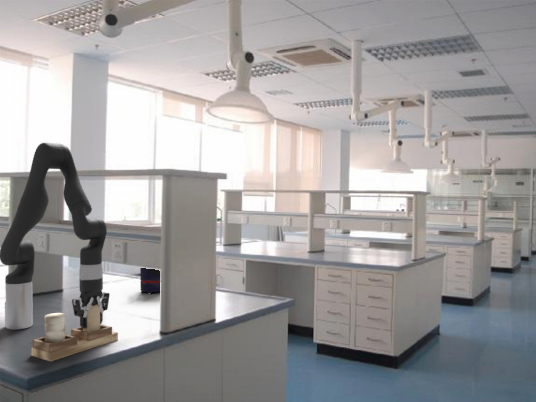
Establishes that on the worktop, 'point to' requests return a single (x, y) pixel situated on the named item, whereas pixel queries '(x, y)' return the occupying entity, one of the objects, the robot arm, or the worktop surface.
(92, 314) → the candle
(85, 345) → the wooden double holder
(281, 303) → the worktop surface
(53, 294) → the worktop surface
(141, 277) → the navy upright block
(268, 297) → the worktop surface
